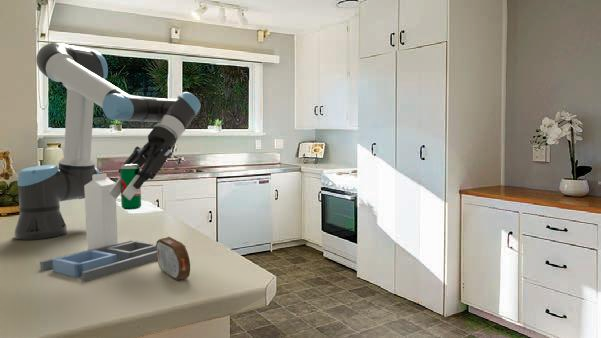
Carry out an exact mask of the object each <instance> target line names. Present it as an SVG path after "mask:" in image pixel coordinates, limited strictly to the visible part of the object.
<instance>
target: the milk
mask: <svg viewBox="0 0 601 338" xmlns="http://www.w3.org/2000/svg"><path fill="white" fill-rule="evenodd" d="M114 184H115V182H114V181H112V180H110V179H108V178H107V173H99V174H95V175H92V181H90V182H89V183H88V184H86V185H85V186H84V191H85V198H84V208H85V226H86V227H85V229H86V230H85V231H86V232H85V233H86V248H87V249H86V251H87V250H91V249H95V248H99V247H103V246H108V245H112V244H116V243H119V240H118V239H119V238H118V219H117V218H118V216H117V215H118V214H117V199H115V198H114V197H113V196H112V195H110V194H109V193H108V192H109V190H110V189H111V188H112V187H113V185H114Z"/></svg>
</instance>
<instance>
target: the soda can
mask: <svg viewBox="0 0 601 338" xmlns="http://www.w3.org/2000/svg"><path fill="white" fill-rule="evenodd" d="M123 164H124V163H123ZM123 164H121V167H120V168H119V169H120V173H119V175H120V176H119V177H120V178H121V193H120V201H121V206H120V207H121V208H122V210H126V211H127V210H129V211H130V210H138V209H140V208H141V207H142V186H141V187H140V188H139V189H138V190H137V192H136V193H135V195H134V196H133V197H132V199H131V200H128V199H127V198H126V197H125V196H124V195H123V194H122V193H123V192H124V190H125V189H126V188H127V186H128V185H129V184H130V182H131V181H132V180H133V178H134V177H135V176H136V175H139V174H138V172H141V167H140V168H139V166H138V164H124V165H123ZM139 176H140V175H139Z"/></svg>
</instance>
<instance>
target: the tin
mask: <svg viewBox="0 0 601 338" xmlns="http://www.w3.org/2000/svg"><path fill="white" fill-rule="evenodd" d="M155 244H156V249H157V260H156V261H157V264H158V266H159V269H160V270H161V271H162V272H163V274H166V275H167V276H169V277H170V278H171V279H173V280H174V281H180V280H184V279H189V276H190V275H191V261H190V256H189V253H188V250H187V248H186V245H184V244H183V243H182V242H180V241H178V240H177V239H175V238H173V237H171V236H167V237H164V238H159V239H158V240H157V241H156V243H155Z"/></svg>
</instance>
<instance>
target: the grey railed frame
mask: <svg viewBox="0 0 601 338" xmlns="http://www.w3.org/2000/svg"><path fill="white" fill-rule="evenodd" d="M153 261H154V262H155V261H157V249H156V243H151V242H146V241H139V240H134V241H133V240H131V239H129V240H125V241H121V242H118V243H116V244H112V245H108V246H103V247H99V248H95V249H91V250H87V249H86V250H84V251H80V252H75V253H71V254H67V255H63V256H58V257H55V258H51V259H46V260H45V259H44V260H42V261H39V264H40V265H39V266H40V271H47V270H50V269H52V272H54V273H59V274H62V275H65V276H70V277H73V278H74V277H75V278H77V279H79V278H81V281H82V282H88V281H92V280H95V279H97V278H101V277H104V276H108V275H111V274H114V273H117V272H121V271H124V270H127V269H131V268H134V267H137V266H141V265H144V264H147V263H151V262H153Z"/></svg>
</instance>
